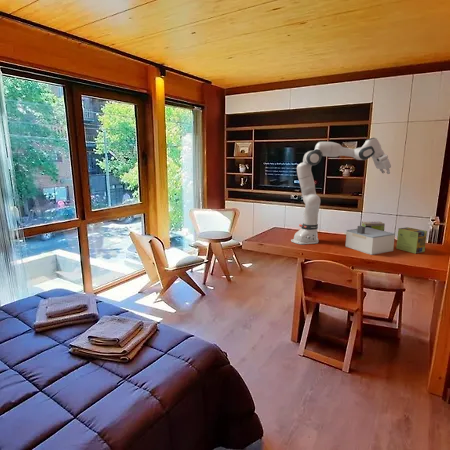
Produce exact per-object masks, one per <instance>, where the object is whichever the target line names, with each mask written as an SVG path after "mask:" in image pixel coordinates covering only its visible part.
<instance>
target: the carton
mask: <svg viewBox="0 0 450 450" xmlns="http://www.w3.org/2000/svg"><path fill="white" fill-rule="evenodd" d="M345 236H346V237H345V248H349V249H353V250H354V251H358V252H361V253H364V254H367V255H371V256H372V255H373V256H374V255H380V254H384V253H389V252H394V248H395V247H394V246H395V237H396V234H395V235H390V236H384V237H377V238H371V237H367V236H363V235H359V234H356V233H352V232H348V231H347V230H346V234H345Z"/></svg>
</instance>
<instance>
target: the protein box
mask: <svg viewBox="0 0 450 450" xmlns="http://www.w3.org/2000/svg"><path fill="white" fill-rule="evenodd" d="M427 234H428V231H427V230H424V229H421V228H420V229H418V228H415V227H408V226H407V227H406V226H405V227H400V228H398V230H397V240H396V248H395V249H397V250H400V251H404V252H407V253H412V254H420V253H425V251H426V243H427Z"/></svg>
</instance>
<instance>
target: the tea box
mask: <svg viewBox="0 0 450 450" xmlns="http://www.w3.org/2000/svg"><path fill="white" fill-rule="evenodd" d="M361 226H364V227H365V228H366V227H369V228H373V229H377V230H381V231H385V223H383V222H382V221H379V220H378V221H377V220H376V221H374V220H373V221H370V220H369V221H368V220H367V221H361Z"/></svg>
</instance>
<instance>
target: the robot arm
mask: <svg viewBox="0 0 450 450" xmlns="http://www.w3.org/2000/svg"><path fill="white" fill-rule="evenodd" d="M302 156H303V157H302V161H301V162H300V163H299V164H297V166H296V175H297V178H298V183H299V186H300V191H301V195H302V200H303V201H302V202H303V203H304V204H305V207H304V212H303V220H302V221H303V222H302V224H301V223H300V224H298V225H299V226H298V227H300V229H299V230H297V231H296V232H295V233H294V236H293V238H291V239H290V241H291V243H295V244H297V245H311V244H319V237H318V235H319V234H318V229H319V223H318V220H319V219H318V218H319V211H320V207H321V197H320V196H319V195H317V192H316V184H315V183H316V182H315V180H314V175H313V172H312V167H313V166H316V165H318V164H319V163H320V162H321V160H322V158H323V157H328V158H329V157H330V158H338V157H340V156H343V157H344V156H345V157H351V158H353V160H356V161H366V160H368V159H370V158H371V159H372V161H373V163H374V166H375V168H376V169H377V170H378V169H379V171H380V172H381V174H385V173H386V174H387V175H389V174H391V172H390V168H392V165H391V161H390V160H389V156H388V155H387V154H386V153H385V152H384V150H383V149H382V145H381V143H380V141H379V139H378V138H376V137H371V138H368V139H366V140H365V142H364V143H363V145H362V146H359V147H355V148H349V147H344V146H342V145H341V144H340V143H337V142H334V141H318V142H317V143H316V144H315V146H314V150H308V151H307V152H305V153H304V155H302Z"/></svg>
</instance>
